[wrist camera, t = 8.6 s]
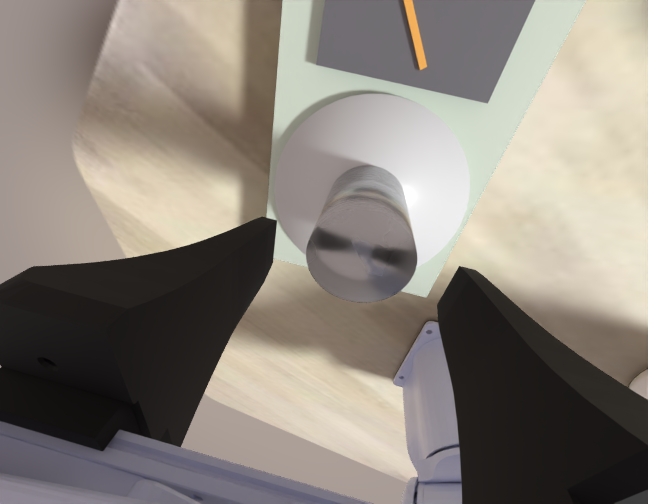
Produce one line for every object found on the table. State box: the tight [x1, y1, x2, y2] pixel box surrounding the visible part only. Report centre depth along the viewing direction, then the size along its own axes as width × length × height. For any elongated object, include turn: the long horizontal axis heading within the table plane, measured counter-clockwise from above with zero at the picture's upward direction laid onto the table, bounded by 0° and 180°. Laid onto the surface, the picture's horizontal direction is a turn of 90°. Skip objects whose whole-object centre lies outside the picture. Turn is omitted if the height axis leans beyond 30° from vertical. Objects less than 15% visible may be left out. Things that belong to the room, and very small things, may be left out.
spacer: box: [306, 165, 417, 303], centre depth 14 cm, size 4×4×6 cm
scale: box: [266, 0, 586, 298], centre depth 16 cm, size 16×12×3 cm
